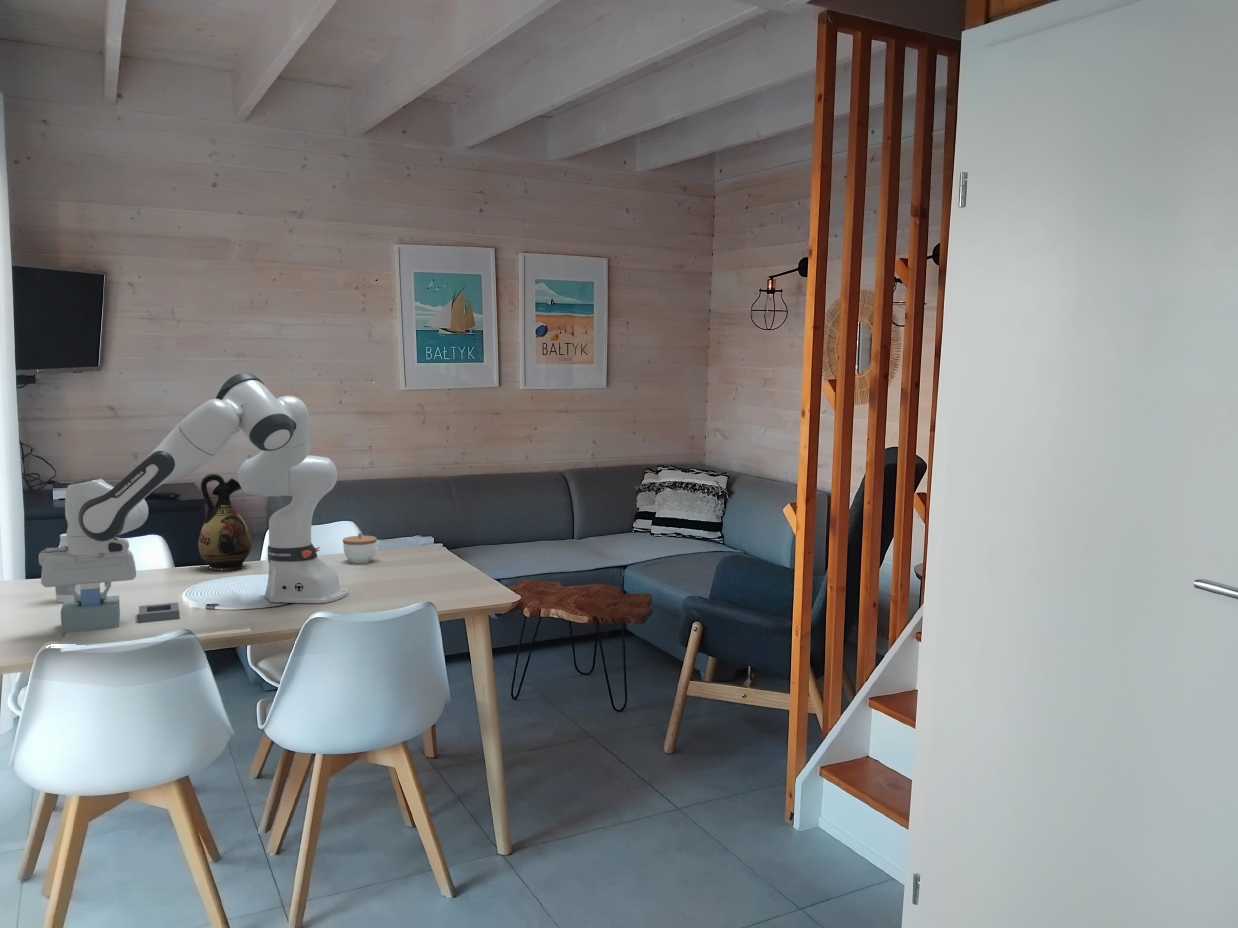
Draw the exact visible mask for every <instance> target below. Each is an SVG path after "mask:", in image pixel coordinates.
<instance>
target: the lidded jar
mask: <svg viewBox="0 0 1238 928" xmlns="http://www.w3.org/2000/svg"><path fill="white" fill-rule="evenodd" d="M357 534H358V535H351V536H347V537H344V538H343V539H342V543H343V544H342V545H343V552H344V555H345V558H346V559H347V560H348V561H350V563H351V564H357V565H358V564H369V563H370V562H371V560H372V559H373V558H374V556H376V552H377V542H378V541H377V540H378V539H377V537H376V536H372V535H362V533H357Z"/></svg>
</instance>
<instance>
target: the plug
mask: <svg viewBox="0 0 1238 928" xmlns="http://www.w3.org/2000/svg"><path fill="white" fill-rule="evenodd" d="M80 592H81V607H82V606H93V605H101V601H100V592H101V583H99V582H95V583H83V584H80Z"/></svg>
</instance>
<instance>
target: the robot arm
mask: <svg viewBox="0 0 1238 928" xmlns="http://www.w3.org/2000/svg"><path fill="white" fill-rule="evenodd" d="M241 431H242V432H243V433H244V435H246V436H247V438H248V439H249V441H250V442H251V444H253V445H254V447H256V448H257V449H258V450H260V452H259V453H257V454H256V455H255V456H252V457H251V458H248V459H246V460H244V461H243V463H242V464H241V466H240V467H239V469H238V474H237V475H238V476H237V479H238V481H237V482H238V483H239V484H240V486H241V488H242V491H243V492H244V493H245V494H247V495H252V496H257V497H266V498H267V497H285V496H289V497H292V499H291V501H290V503H289V504H287V505H286V506H284V507H282V508H280V509H278V510H276V511H275V512H274V513H272V514H271V516H270V517H269V520H268V544H269V545H268V546H267V559H268V565H269V566H268V578H267V584H266V589H265V592H264V598H266V599H267V598H268V601H269V603H281V602H283V603H285V604H286V603H290V604H291V603H292V604H325V603H331V602H335V601H337V600H340V599H342V598H344V597H346V596H347V595H348V594H349V589H348V588H343V587H341V586H340V585H341V584H340V580H339V575H338V572H336V570H334V569H333V568H332V567H330V566H329V565H327V564H326V563H325V562H324V561H322V560H321V559H320V558H319V557H318V554H317V553H318V552H320V551H321V546H318V547H315V546H314V544H313V543H312V521H313V515H314V511H315V509H316V508H317V505H318V503H320V501H321V500H322V498H324V497H325V496H326V495H327V494H328V493H329V492H331V491H332V490H333V488H335V485H336V484H337V480H338V470H337V469H338V468H337V467H336V465H335V463H334V462H333V460H332V459H330V458H329V457H325V456H318V455H310V454H309V453H310V452H311V420H310V416H309V411H308V408H307V405H306V404H305V403H304V401H302V400H301V399H300V398H298V397H296V396H292V395H283V396H280V397H277V398H276V397H275V396H274V394H273V393H272V392H271V391H270V389H268V388H267V387H266V386H265V384H264V382H263V381H262V380H261V379H260V378H259V377H257V376H256V375H254V374H252V373H251V372H242V373H236V374H235V375H233V376H231V377H229V378H228V379H227V380H226V381H225V382H224V383H223V384H222V386H221V387H220V389H219V390H218V393H217V394H216V396H215V398H212V399H211V398H210V399H209V400H207V401H205V402H204V403H202V404H201V405H199V406H198V407H197V408H195V409H194V410H193V411H191V412H190V413H189V414H187V415H186V417H184V418H183V419H182V420H181V421H180V422H178V423H177V425H176V426H175V427H174V428H172V430H171V431H170V432H169V433H168V434H167V435H166V436H165V438H163V440H162V441H161V442H160V443H159V444H158V445H157V446H156V447H155V448H154V449H153V450H152V451H151V452H150V453H149V455H148V456H147V457H146V458H145V459H144V460H143V461H142V462H141V463H139V464H138V465H137V466H136V467H135V468H134V469H133V470H132V471H131V472H130V473H128V474H127V475H126V476H124V477H123V478H122V479H121V480H120V481H119V482H118V483H117V484H116V485H115V486H113V485H111V484H109V483H108V482H106V481H105V480H104V479H102V478H99V477H91V478H87V479H81V480H78V481H73V482H71V483H70V484H68V486H67V487H66V491H65V497H64V498H65V499H64V509H65V510H64V515H65V520H66V522H67V529H66V533H65V534H67V547H60V546H58V547H47V548H45V549H43V550H42V551H40V552H39V554H38V564H39V565H40V566H41V572H40V573H41V575H40V583H41V585H42V586H43V587H44V588H52V587H56V586H67V585H68V587H69V591H70V592H71V594H72V595H73V596H74V601H75V603H81V594H77V593H76V591H75V590H74V589H75V588H76V585H79V584H83V583H95V582H99V583H100V584H101V583H102V584H103V583H104V587H105V589H104V590H103V591H102V592H101V591H100V601H104V600H107V595H108V592H109V590H110V588H111V587H112V582H113V583H114V582H123V581H125V582H126V581H133V580H134V579H135V578H136V577H137V569H136V567H137V566H136V562H135V559H134V554H133V553H132V551H131V550H130V543H129V541H128V539H126V538H121V537H118V536H120V535H122V534H126V533H129V532H131V531H134V530H136V529H138V528H140V527H142V526H143V525H144V524H145V523H146V522H147V520H148V518H149V516H150V515H149V514H150V509H149V505H148V504H149V503H147V500H146V499H145V498H146V497H148V496H149V495H150V494H151V493H152V492H153V491H155V490H156V489H158V488H159V487H160V486H161V485H163V484H165V483H168V482H170V481H172V480H175V479H177V478H180V477H182V476H183V477H184V476H186V475H189V474H191V473H193V472H196V471H197V470H200V469H201V467H203V466H205V465H206V464H207V463H209V462H210V461H212V459H214V457H216V456H217V454H219V453H220V452H221V451H222V450H223V448H224V447H225V446H226V445H227V444H228V443H229V441H230V440H231V439H232V438H233V436H234V435H235V434H237V433H239V432H241Z"/></svg>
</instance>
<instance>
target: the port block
mask: <svg viewBox="0 0 1238 928" xmlns="http://www.w3.org/2000/svg"><path fill="white" fill-rule="evenodd" d="M120 603H121V602H120V595H119V594H118V595H111V596H110V595H109V596H107V600H104V601H101V605H93V606H82V607H81V603H75V601H74V599H72V600H64V602H63V603H62V607H61V608H60V622H61V623H60V626H61V629H60V630H61V637H65V636H66V633H71V632H79V631H81V632H82V631H91V630H100V629H111V628H118V627H120V622H121V621H120V619H121V610H120V609H121V607H120Z"/></svg>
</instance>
